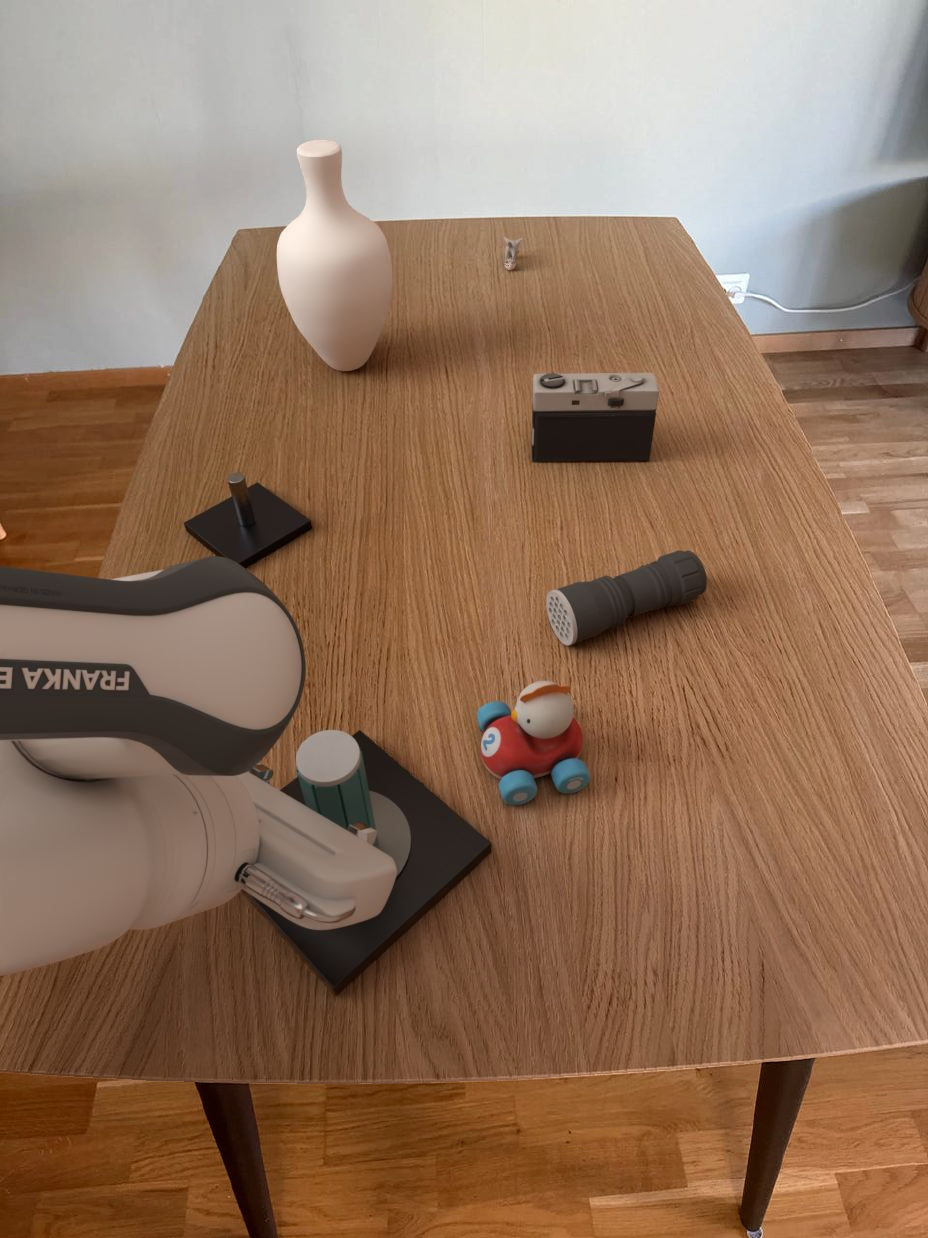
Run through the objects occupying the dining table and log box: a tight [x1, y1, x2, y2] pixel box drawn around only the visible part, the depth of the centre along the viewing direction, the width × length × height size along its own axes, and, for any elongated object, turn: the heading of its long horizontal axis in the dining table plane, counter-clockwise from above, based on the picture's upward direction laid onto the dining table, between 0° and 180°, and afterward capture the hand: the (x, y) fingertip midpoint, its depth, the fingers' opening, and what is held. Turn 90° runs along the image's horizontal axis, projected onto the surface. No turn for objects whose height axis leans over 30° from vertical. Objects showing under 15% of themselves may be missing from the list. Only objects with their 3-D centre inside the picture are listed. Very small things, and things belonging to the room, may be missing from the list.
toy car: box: [476, 680, 591, 806], centre depth 75 cm, size 9×9×10 cm
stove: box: [240, 729, 493, 997], centre depth 72 cm, size 16×16×2 cm
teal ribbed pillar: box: [295, 729, 377, 848], centre depth 67 cm, size 4×4×12 cm
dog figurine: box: [502, 236, 524, 271], centre depth 143 cm, size 3×8×6 cm
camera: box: [530, 372, 660, 463], centre depth 107 cm, size 14×8×10 cm, turn 88°
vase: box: [276, 139, 394, 372], centre depth 115 cm, size 14×14×28 cm
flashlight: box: [545, 549, 708, 646], centre depth 88 cm, size 15×5×5 cm, turn 114°
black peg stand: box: [183, 471, 313, 569], centre depth 98 cm, size 10×10×7 cm
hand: (313, 805), depth 65 cm, fingers open, 8 cm apart
